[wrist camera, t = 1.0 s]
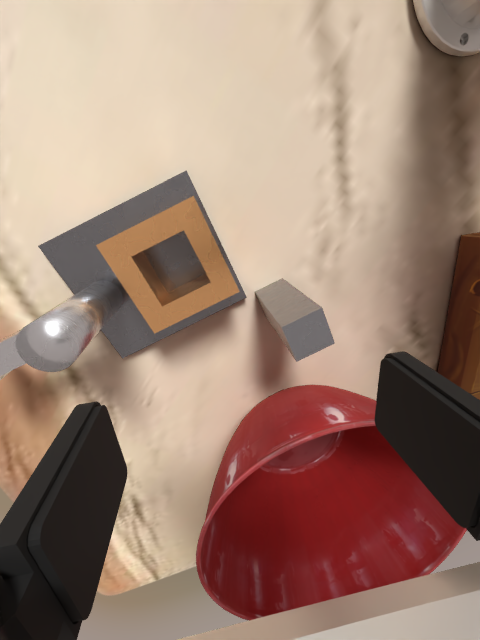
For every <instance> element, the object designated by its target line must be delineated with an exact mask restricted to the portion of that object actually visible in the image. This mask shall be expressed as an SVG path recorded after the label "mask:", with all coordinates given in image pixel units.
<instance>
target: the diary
mask: <svg viewBox="0 0 480 640" xmlns="http://www.w3.org/2000/svg"><path fill="white" fill-rule="evenodd" d="M437 373H439V374H441V375H442V376H444V377H445V378H447V379H448V380H450V381H451V382H453V383H454V384H456V385H457V386H459V387H461V388H462V389H464V390H465V391H467V392H468V393H470V394H471V395H473V396H474V397H476V398H477V399H479V400H480V232H479V233H472V234H466V235H461V240H460V245H459V251H458V257H457V263H456V268H455V274H454V280H453V286H452V291H451V297H450V303H449V309H448V314H447V320H446V326H445V332H444V338H443V343H442V349H441V355H440V361H439V366H438V372H437Z"/></svg>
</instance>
